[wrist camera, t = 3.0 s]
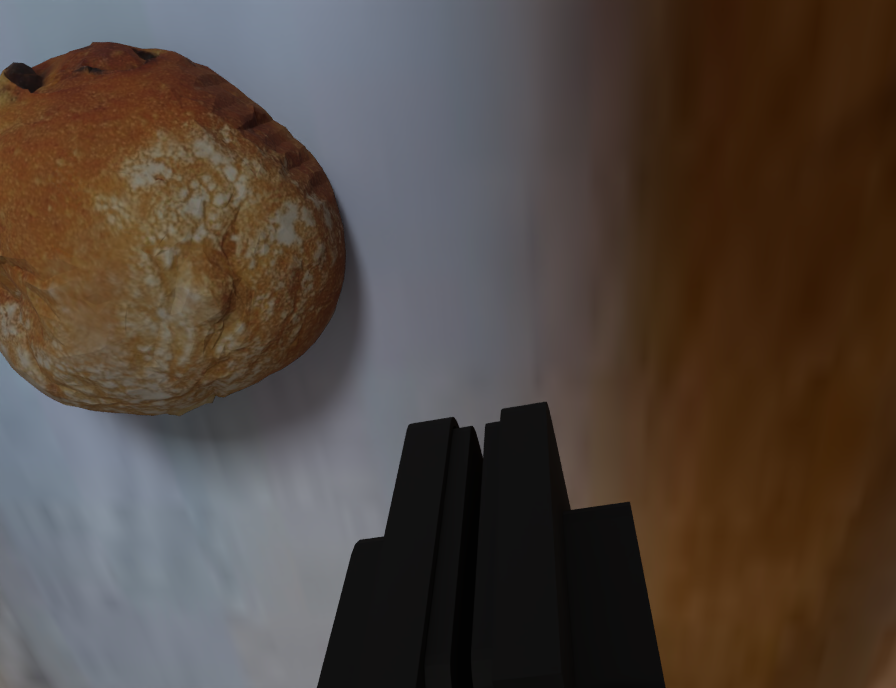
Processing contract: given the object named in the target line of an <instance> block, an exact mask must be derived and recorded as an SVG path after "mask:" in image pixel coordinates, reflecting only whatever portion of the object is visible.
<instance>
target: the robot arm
mask: <svg viewBox="0 0 896 688" xmlns="http://www.w3.org/2000/svg"><path fill="white" fill-rule="evenodd" d="M317 688H666V687H665V682H664V677H663V672H662V666H661V661H660V656H659V651H658V646H657V640H656V635H655V630H654V625H653V620H652V614H651V609H650V604H649V599H648V593H647V588H646V583H645V578H644V573H643V567H642V562H641V557H640V552H639V546H638V541H637V536H636V531H635V526H634V520H633V515H632V510H631V505H630V502H624V503H617V504H610V505H603V506H596V507H589V508H582V509H575V510H571V508H570V504H569V499H568V494H567V490H566V485H565V480H564V476H563V471H562V466H561V462H560V457H559V452H558V448H557V443H556V438H555V434H554V429H553V424H552V420H551V415H550V411H549V407H548V404H547V402H541V403H535V404H529V405H523V406H517V407H510V408H504V409H502V410H501V418H500V421H499V422H493V423H487V424H486V425H485V437H484V453H483V456H482V453H481V449H480V445H479V441H478V437H477V434H476V431H475V429H474V427H473V426H468V427H462V428H459V425H458V423H457V421H456V419H455V418H454V417H449V418H443V419H437V420H431V421H425V422H419V423H413V424H410V425H408V428H407V432H406V436H405V441H404V446H403V450H402V455H401V460H400V464H399V469H398V474H397V478H396V483H395V488H394V492H393V497H392V502H391V507H390V511H389V516H388V521H387V525H386V530H385V535H384V537H377V538H370V539H363V540H359V541H358V542H357V543H356V544H355V546H354V549H353V551H352V554H351V558H350V562H349V566H348V570H347V573H346V577H345V581H344V585H343V589H342V593H341V597H340V601H339V604H338V608H337V612H336V616H335V620H334V624H333V628H332V631H331V635H330V639H329V643H328V647H327V651H326V655H325V659H324V662H323V666H322V670H321V674H320V678H319V682H318V686H317Z"/></svg>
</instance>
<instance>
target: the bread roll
mask: <svg viewBox="0 0 896 688" xmlns="http://www.w3.org/2000/svg"><path fill="white" fill-rule="evenodd" d="M345 263H346V249H345V238H344V227H343V224H342V220H341V216H340V213H339V209H338V206H337V202H336V199H335V195H334V192H333V189H332V187H331V184H330V182H329V180H328V178H327V176H326V174H325V173H324V171H323V169H322V167H321V166H320V165H319V163H318V162H317V160H316V159H315V157H314V156H313V155H312V154H311V153H310V152H309V151H308V150H307V149H306V147H305V146H304V145H303V144H301V143H300V142H299V141H298V140H296V139H295V138H294V137H293V136H292V135H291V134H290V132H289V131H288V130H287V128H286V127H284V126H282V125H281V124H279V123H277V122H275V121H274V120H273V119H272V117H271V116H270V115H269V114H268V113H267V112H266V111H265V110H264V109H263V108H262V107H261V106H259V105H258V104H256V103H255V102H254V101H252V100H251V99H250V98H248V97H247V96H246V95H245V94H244V93H242V92H241V91H240V90H239V89H238V88H236V87H235V86H234V85H232V84H230V83H229V82H228V81H227V80H225V79H224V78H223V77H221V76H220V75H218V74H217V73H216V72H214V71H213V70H211V69H210V68H208V67H207V66H203V65H200V64H197V63H194V62H192V61H191V60H189V59H188V58H186V57H184V56H182V55H180V54H178V53H176V52H173V51H167V50H162V49H141V48H136V47H132V46H128V45H123V44H119V43H112V42H92V43H91V45H90V46H87V47H84V48H81V49H77V50H73V51H70V52H68V53H67V54H64V55H60V56H57V57H54V58H51V59H49V60H47V61H45V62H43V63H41V64H39V65H37V66H34V67H32V68H31V67H29V66H27V65H25V64H24V63H14V62H13V63H12V64H11V65H10V66H9V67H7V68H6V69H4V70H3V72H2V74H1V76H0V352H1V353H2V354H3V356H4V357H5V359H6V360H7V361H8V363H9V364H10V366H11V367H12V368H13V369H14V370H15V371H16V372H17V373H18V374H19V375H20V376H21V377H23V378H24V379H25V380H26V381H28V382H29V383H30V384H31V385H33V386H34V387H35V388H37V389H38V390H39V391H41V392H42V393H43V394H45V395H47V396H48V397H50V398H52V399H54V400H56V401H58V402H60V403H62V404H64V405H69V406H75V407H80V408H83V409H87V410H93V411H100V412H111V413H128V414H136V415H151V416H154V415H159V414H169V415H177V416H181V415H183V414H185V413H186V412H188V411H191V410H193V409H195V408H198V407H200V406H202V405H204V404H207V403H213V400H214V398H215V396H218V397H226V396H228V395H230V394H232V393H234V392H236V391H240V390H242V389H244V388H247V387H249V386H251V385H253V384H255V383H258V382H259V381H261V380H262V379H264V378H265V377H267V376H268V375H270V374H273V373H275V372H277V371H279V370H281V369H283V368H285V367H286V366H288V365H289V364H291V363H292V362H294V361H295V360H296V359H298V358H299V357H300V356H301V355H303V354H304V353H305V352H306V351H307V350H308V349H309V348H310V346H312V345H313V344H314V343H315V342H316V340H317V339H318V337H319V336H320V335H321V333H322V332H323V330H324V329H325V327H326V326H327V324H328V323H329V321H330V319H331V318H332V316H333V314H334V311H335V308H336V305H337V302H338V299H339V296H340V292H341V288H342V284H343V280H344V274H345Z"/></svg>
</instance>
